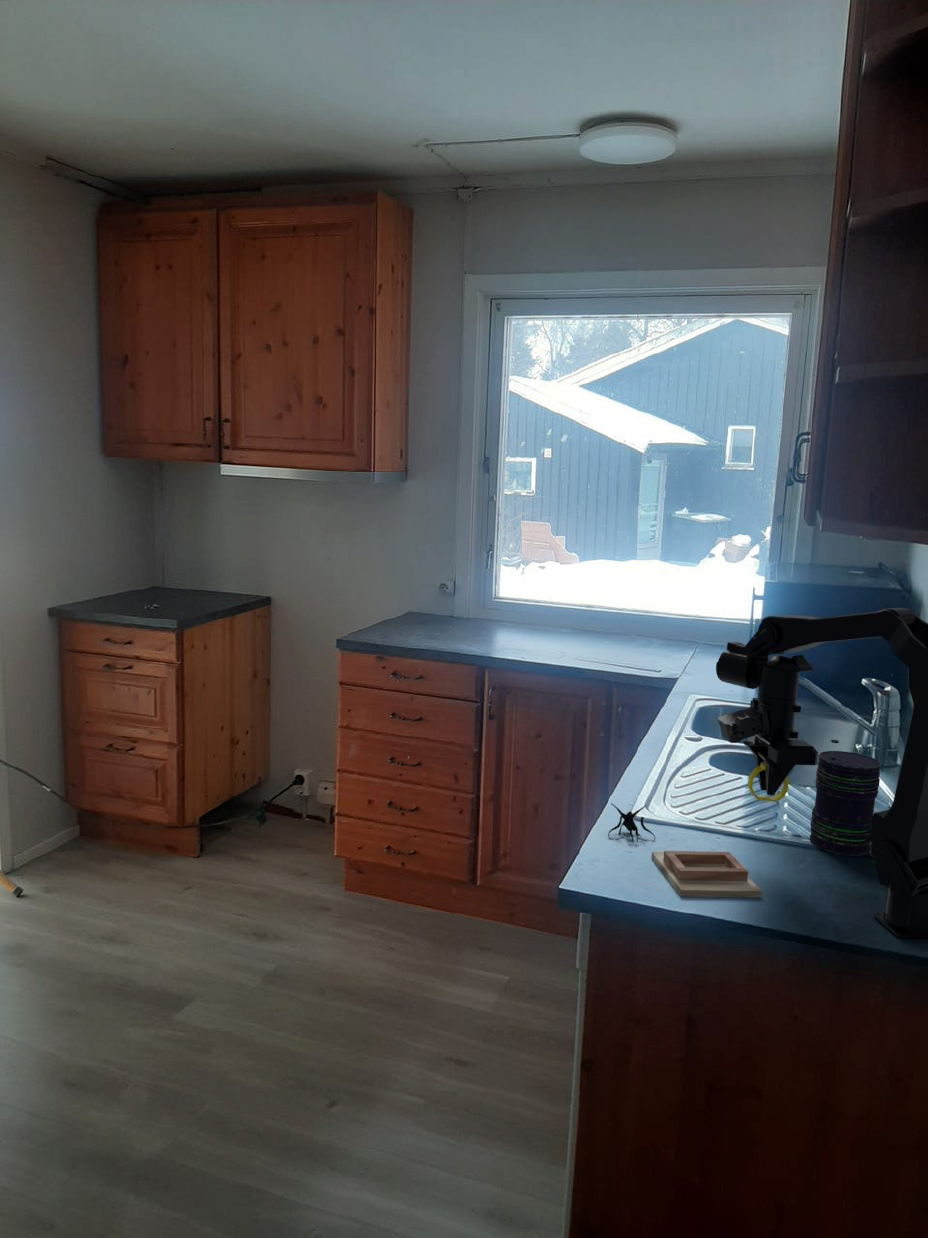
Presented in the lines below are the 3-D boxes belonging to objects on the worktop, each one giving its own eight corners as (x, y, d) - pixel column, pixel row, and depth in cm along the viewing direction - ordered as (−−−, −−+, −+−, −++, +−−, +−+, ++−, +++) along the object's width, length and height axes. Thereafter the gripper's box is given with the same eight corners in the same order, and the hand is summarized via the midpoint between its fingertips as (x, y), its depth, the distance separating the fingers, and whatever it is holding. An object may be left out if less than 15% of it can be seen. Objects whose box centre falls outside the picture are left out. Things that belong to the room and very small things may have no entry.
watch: (750, 803, 146) (751, 766, 145) (745, 797, 149) (746, 761, 148) (789, 803, 146) (790, 766, 145) (784, 797, 149) (785, 761, 148)
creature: (657, 853, 153) (648, 825, 161) (662, 825, 151) (652, 798, 159) (609, 850, 153) (603, 823, 160) (613, 822, 151) (606, 796, 158)
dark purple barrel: (855, 835, 163) (868, 735, 161) (881, 857, 154) (895, 751, 151) (799, 832, 163) (810, 732, 161) (822, 854, 153) (834, 748, 151)
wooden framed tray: (760, 897, 135) (762, 881, 135) (680, 896, 134) (682, 880, 134) (724, 858, 149) (726, 844, 149) (651, 857, 148) (652, 842, 147)
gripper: (706, 681, 153) (697, 773, 156) (750, 708, 135) (740, 812, 137) (771, 683, 155) (762, 774, 157) (824, 710, 136) (813, 813, 138)
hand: (767, 792), depth 147 cm, fingers closed on watch, 2 cm apart
